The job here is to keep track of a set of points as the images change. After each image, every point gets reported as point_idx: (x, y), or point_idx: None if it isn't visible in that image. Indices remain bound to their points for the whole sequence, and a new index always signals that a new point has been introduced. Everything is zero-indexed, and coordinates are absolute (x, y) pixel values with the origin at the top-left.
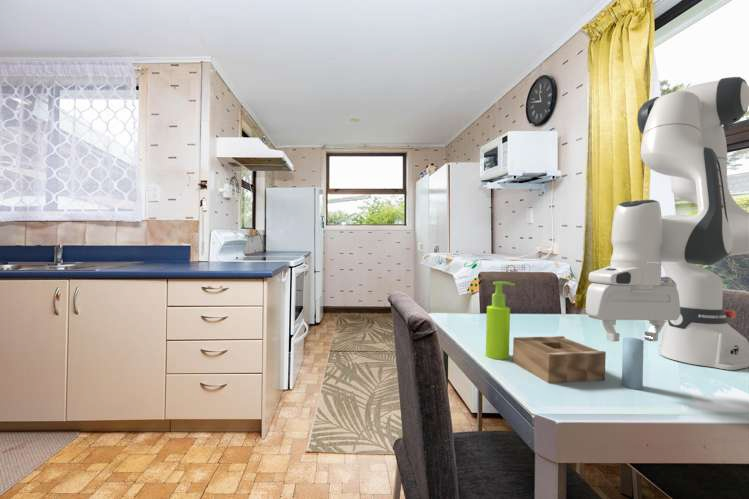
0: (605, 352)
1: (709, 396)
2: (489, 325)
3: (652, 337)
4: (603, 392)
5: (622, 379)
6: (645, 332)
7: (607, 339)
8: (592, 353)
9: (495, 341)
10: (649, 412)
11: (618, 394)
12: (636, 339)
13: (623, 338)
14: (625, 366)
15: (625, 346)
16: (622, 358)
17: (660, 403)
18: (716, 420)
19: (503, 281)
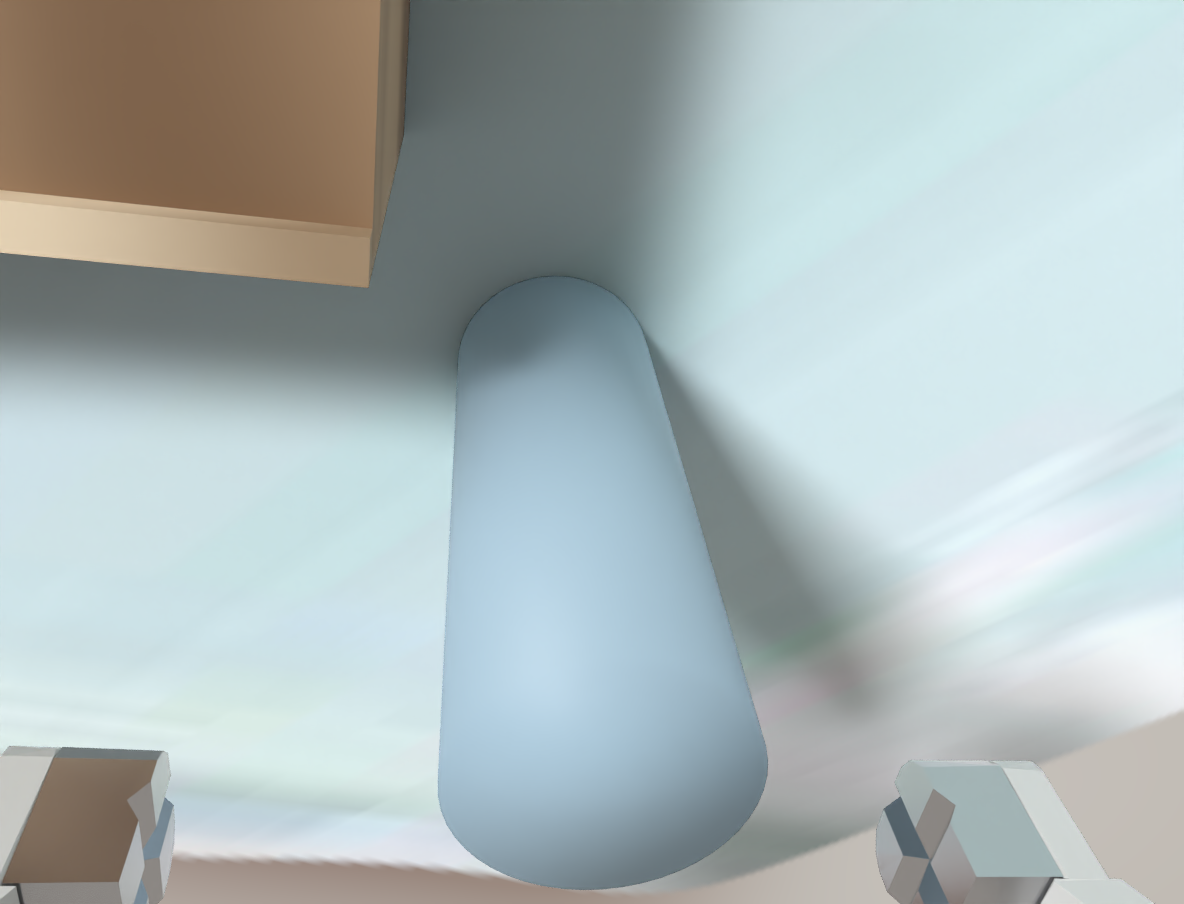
0: (362, 285)
1: (992, 651)
2: None
3: (912, 901)
4: (72, 421)
5: (470, 348)
6: (960, 874)
7: (10, 755)
8: (70, 247)
9: None
10: (172, 759)
11: (203, 486)
12: (682, 785)
13: (496, 706)
14: (452, 488)
15: (445, 679)
16: (496, 462)
17: (425, 675)
18: None
19: None
